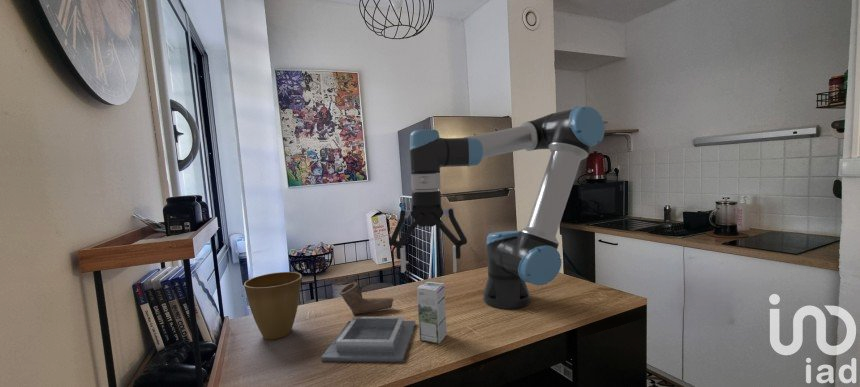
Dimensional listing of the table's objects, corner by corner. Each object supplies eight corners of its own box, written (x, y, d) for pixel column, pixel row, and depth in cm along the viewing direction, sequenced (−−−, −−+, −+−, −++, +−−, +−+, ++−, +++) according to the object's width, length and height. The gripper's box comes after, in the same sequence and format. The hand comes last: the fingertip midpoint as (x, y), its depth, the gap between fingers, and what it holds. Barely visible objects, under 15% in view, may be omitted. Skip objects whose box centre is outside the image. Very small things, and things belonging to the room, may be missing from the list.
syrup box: (447, 334, 95) (445, 282, 94) (438, 344, 89) (436, 289, 88) (428, 331, 97) (425, 280, 96) (418, 341, 92) (416, 287, 91)
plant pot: (299, 342, 94) (295, 284, 93) (240, 349, 92) (235, 290, 91) (309, 319, 109) (306, 269, 107) (259, 324, 106) (254, 273, 105)
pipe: (394, 313, 110) (393, 282, 109) (340, 320, 107) (338, 288, 106) (393, 305, 116) (391, 276, 116) (341, 312, 113) (339, 281, 113)
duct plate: (415, 324, 102) (415, 312, 102) (403, 362, 82) (402, 348, 82) (349, 324, 104) (348, 312, 104) (321, 361, 84) (320, 347, 84)
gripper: (375, 192, 88) (379, 275, 89) (475, 189, 85) (477, 275, 87) (382, 190, 95) (385, 267, 97) (474, 188, 93) (476, 266, 94)
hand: (429, 271), depth 92 cm, fingers open, 13 cm apart
